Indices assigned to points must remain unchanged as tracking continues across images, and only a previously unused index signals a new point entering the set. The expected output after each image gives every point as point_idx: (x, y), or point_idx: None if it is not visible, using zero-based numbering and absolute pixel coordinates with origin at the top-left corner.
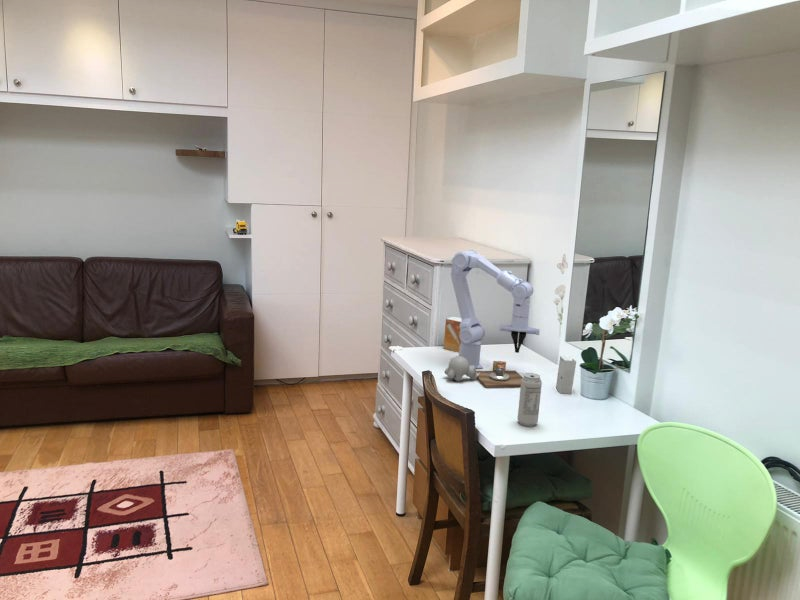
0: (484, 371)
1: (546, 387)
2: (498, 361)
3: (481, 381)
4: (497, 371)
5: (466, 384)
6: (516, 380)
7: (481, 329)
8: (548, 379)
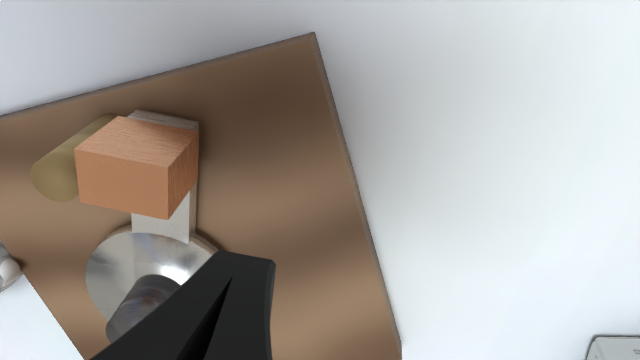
0: (30, 135)
1: (519, 330)
2: (83, 173)
3: (69, 333)
4: None
5: (2, 328)
6: (299, 305)
7: None
8: (627, 150)
